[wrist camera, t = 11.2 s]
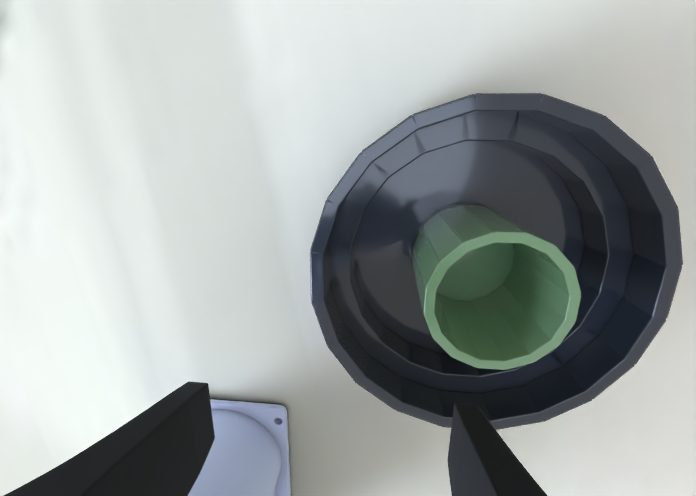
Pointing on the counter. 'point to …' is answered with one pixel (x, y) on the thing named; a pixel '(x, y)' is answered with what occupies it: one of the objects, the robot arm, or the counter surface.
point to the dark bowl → (523, 208)
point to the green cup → (492, 288)
